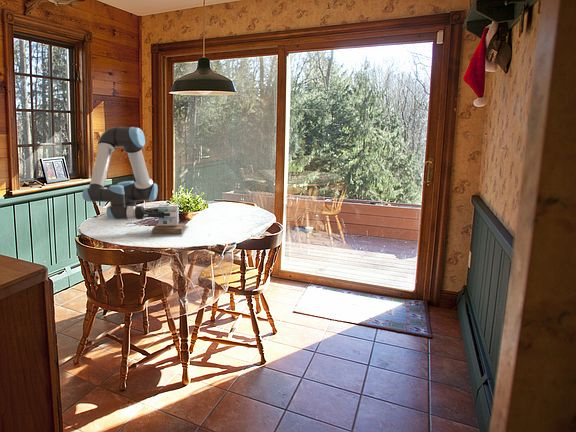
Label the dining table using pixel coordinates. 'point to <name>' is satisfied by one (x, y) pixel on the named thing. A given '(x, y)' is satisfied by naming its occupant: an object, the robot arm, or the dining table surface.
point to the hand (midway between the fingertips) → (177, 212)
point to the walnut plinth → (169, 229)
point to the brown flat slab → (168, 234)
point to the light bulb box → (168, 209)
